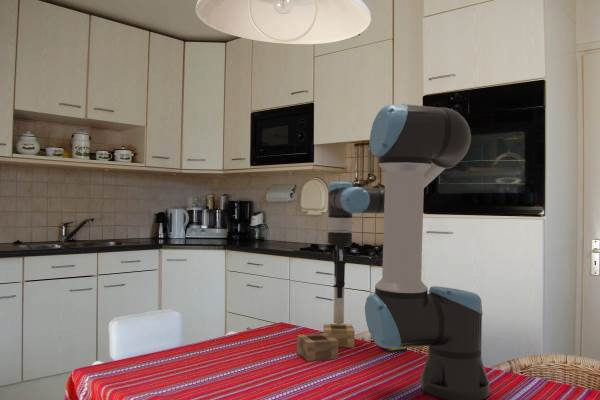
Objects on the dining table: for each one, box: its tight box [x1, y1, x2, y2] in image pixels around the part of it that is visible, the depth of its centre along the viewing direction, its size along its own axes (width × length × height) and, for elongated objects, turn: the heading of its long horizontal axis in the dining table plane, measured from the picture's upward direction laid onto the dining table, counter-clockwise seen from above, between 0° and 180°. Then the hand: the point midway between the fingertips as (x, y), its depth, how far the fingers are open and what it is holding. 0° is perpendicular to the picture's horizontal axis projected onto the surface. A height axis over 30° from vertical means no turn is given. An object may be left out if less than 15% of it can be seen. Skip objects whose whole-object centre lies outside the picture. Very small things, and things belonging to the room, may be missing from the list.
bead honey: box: [322, 323, 355, 348], centre depth 157 cm, size 9×9×5 cm
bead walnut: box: [296, 332, 339, 362], centre depth 143 cm, size 9×9×5 cm
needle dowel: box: [333, 277, 345, 324], centre depth 157 cm, size 3×3×14 cm
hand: (338, 306), depth 157 cm, fingers closed on needle dowel, 3 cm apart
